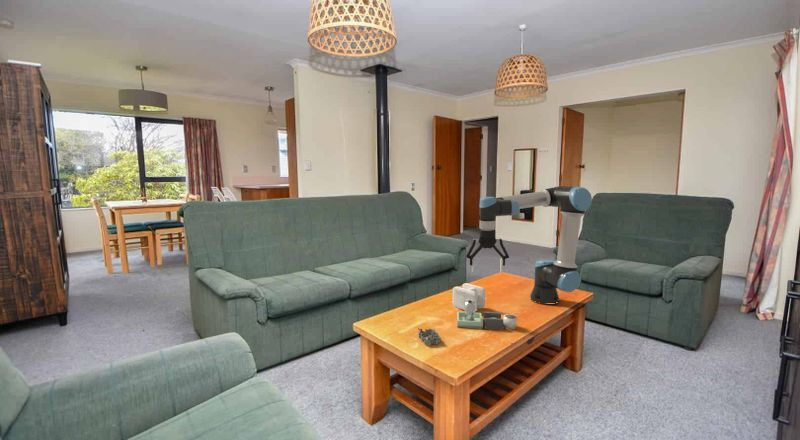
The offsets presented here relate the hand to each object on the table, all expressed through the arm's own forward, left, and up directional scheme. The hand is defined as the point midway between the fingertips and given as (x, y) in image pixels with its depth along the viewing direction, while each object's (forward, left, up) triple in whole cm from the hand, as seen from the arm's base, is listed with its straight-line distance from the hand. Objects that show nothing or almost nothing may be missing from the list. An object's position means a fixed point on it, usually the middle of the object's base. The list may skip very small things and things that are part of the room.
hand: (487, 272), depth 179 cm
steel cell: (+8, +8, -22) cm, 25 cm away
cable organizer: (+8, -11, -24) cm, 27 cm away
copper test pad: (-3, +9, -21) cm, 23 cm away
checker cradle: (-3, +9, -23) cm, 25 cm away
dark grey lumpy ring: (+26, +28, -24) cm, 45 cm away
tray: (+8, +8, -23) cm, 26 cm away
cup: (-10, +10, -23) cm, 27 cm away
